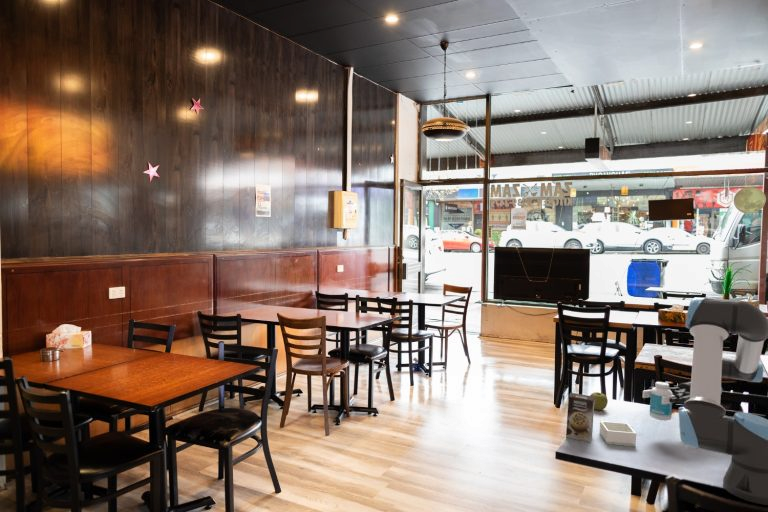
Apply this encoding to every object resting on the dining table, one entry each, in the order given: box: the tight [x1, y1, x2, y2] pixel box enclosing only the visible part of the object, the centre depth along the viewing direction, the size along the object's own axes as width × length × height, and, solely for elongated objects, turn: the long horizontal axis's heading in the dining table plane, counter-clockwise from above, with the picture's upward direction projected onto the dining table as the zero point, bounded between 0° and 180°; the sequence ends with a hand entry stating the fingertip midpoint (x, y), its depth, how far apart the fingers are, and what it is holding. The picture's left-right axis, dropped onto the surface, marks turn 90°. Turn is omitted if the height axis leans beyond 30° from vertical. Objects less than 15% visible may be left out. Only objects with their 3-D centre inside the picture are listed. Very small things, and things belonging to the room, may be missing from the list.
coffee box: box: [565, 392, 595, 443], centre depth 197 cm, size 9×6×16 cm
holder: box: [599, 420, 637, 447], centre depth 196 cm, size 10×10×5 cm
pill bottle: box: [649, 381, 673, 421], centre depth 199 cm, size 8×7×14 cm
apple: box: [589, 392, 608, 411], centre depth 231 cm, size 8×8×7 cm
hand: (652, 397), depth 197 cm, fingers closed on pill bottle, 7 cm apart
